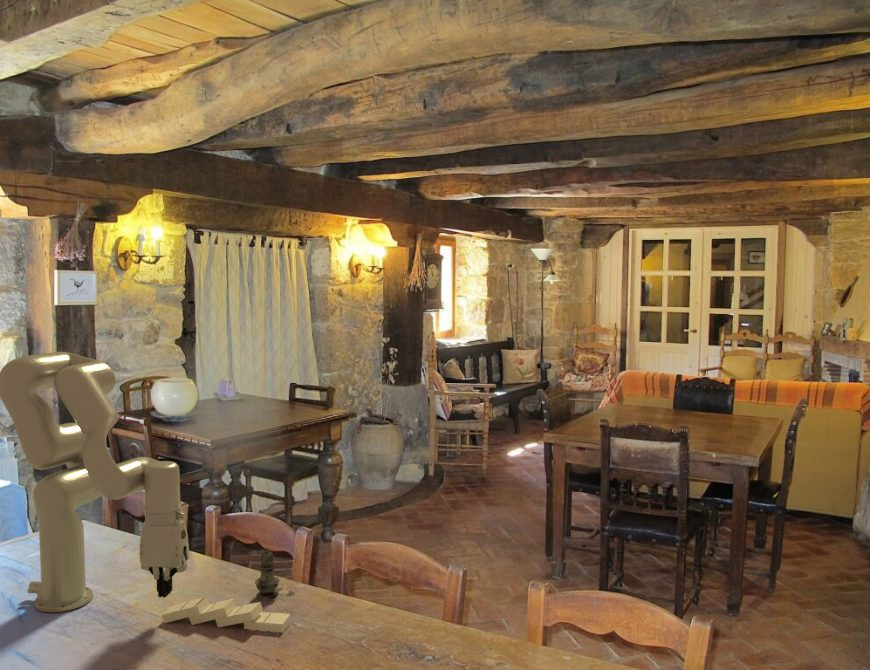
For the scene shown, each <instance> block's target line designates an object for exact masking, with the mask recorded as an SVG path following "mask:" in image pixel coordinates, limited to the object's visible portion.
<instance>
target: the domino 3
mask: <svg viewBox="0 0 870 670" xmlns="http://www.w3.org/2000/svg"><path fill="white" fill-rule="evenodd" d="M261 612H264V609H263V606H262V602H261V601H258V602H253V603H249V604H244V605H239V606H238V605H237V606H236V608H235V609H234V610H233V611H232V612H231V613H230V614H229V615H228V616H226V617H222V618H218V619H214V620H215V623H216V625H217V628H218V627H219V628H222V627H227V626H228V627H229V626H233V625H238V624H242V623H243V624H244V622H248V621H253V620H254V619H255V618H256V617H257V616H258V615H259V614H260V613H261Z"/></svg>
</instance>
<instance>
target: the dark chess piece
mask: <svg viewBox="0 0 870 670" xmlns="http://www.w3.org/2000/svg"><path fill="white" fill-rule="evenodd" d="M260 554H261V556H260V565H259V568H260V577H258V578H257V579H256V580H255V581H254V584H255V586H256V588H257V590H258V592H257V594H256V599H259V600H261V601H262V600H263V601H269V600H273V599H275V598H277V597H278V596H279V592H278V591H277V588H278V586H279V583H280V578H278V577H276V576H275V574H274V568H275V564H274V554H273V552H272V551H269V548H268V547H267V548H265V550H264V551H263V552H261V553H260Z"/></svg>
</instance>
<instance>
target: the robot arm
mask: <svg viewBox="0 0 870 670" xmlns="http://www.w3.org/2000/svg"><path fill="white" fill-rule="evenodd" d="M116 381H117V379H116V376H115V373H114V371H113V369H112V368H111V367H110V366H109V365H108V364H106V363H105V362H102V361H100V360H97V359H95V358H91V357H86V356H83V355H79V354H77V353H71V352H68V351H54V352H46V353H38V354H30V355H24V356H20V357H17V358H14V359H12V360H10V361H8V362H7V363H6V364H5V365H4V366H3V367H2V368H1V370H0V399H1V401H2V404H3V405H4V408H5V409H6V410H7V412H8V414H9V416H10V417H11V420H12V422H13V424H14V425H13V426H14V429H15V431H16V434H17V437H18V440H19V443H20V445H21V449H22V450H23V454H24V456H25V458H26V460H27V462H28V464H29V466H31V468H33V469H35V470H40V471H41V470H42V471H43V470H48V469H52V468H55V467H59V466H62V465H65V466H66V469H65V468H64V469H62V470H60V471H56V472H53V473H51V474H48V475H46V476H44V477H43V478H42V479H40V480H39V481H38V482H37V483H36V484H35V486H34V489H33V491H32V500H33V504H34V509H35V511H36V517H37V522H38V523H37V524H38V534H39V535H38V536H39V537H38V538H39V554H40V555H39V560H40V561H39V562H40V581H37V580H36V581H35V580H34V581H33V580H32V581H30V583H29V585H28V588H27V594H36V596H37V597H36V598H35V599H34V608H35V609H36V610H37V611H40V612H43V613H62V612H67V611H72V610H74V609H78V608H81V607H83V606H85V605H87V604H88V603H89V602H90V601H91V600H92V599H93V598H94V591H93V589H92V588H90V587H88V586H86V556H85V555H86V554H85V553H86V552H85V530H84V523H83V520H82V518H81V517H80V516H79V514H78V512H77V508H79V507H81V506H83V505H85V504H89V503H90V502H94V501H95V500H97V499H98V498H100V497H101V496H102V495H103V496H104V497H106V498H108V499H111V500H121V499H124V498H127V497H129V496H131V495H133V494H136V493H139V492H142V491H144V515H145V516H144V518H145V519H144V522H143V523H142V526H141V531H140V538H139V563H140V569H141V570H144V571H146V572H147V571H148V572H150V574H151V575H152V576H153V578H154V580H155V581H156V592H157V597H158V598H163V599H164V598H167V597H168V596H169V595H170V594H171V592H172V591H173V576H175V574H179V573H183V572H186V570H188V568H189V567H188V563H187V561H189V559H190V547H189V545H190V544H189V536H188V531H187V526H186V523H185V520H184V519H186V517H187V513H186V512H183V511H182V508H181V477H180V475H181V473H180V466H179V464H177V462H174V461H170V460H169V461H168V460H161V461H160V460H156V459H154V458H152V457H148V456H137V457H134V458H131V459H128V460H125V461H122V462H120V463H116V462H115V460H114V459H113V457H112V455H111V454H110V452H109V449H108V445H107V438H108V437H107V436H108V435H109V434H108V433H109V431H110V430H111V429H112V428H113V427H114V426H115V425H116V424H117V422H118V421H119V417H120V416H119V414H118V412H117V409H115V407H114V406H113V404H112V403H111V401H110V399H109V398H108V396H107V395H109V394H110V393H111V392H112V391H113V390H114V389H115V386H116ZM53 388H54V389H55V392H56V393H57V394H58V397H59V398H60V400H61V401H62V403H63V404H64V406H65V407H66V409H67V410H68V412H69V414H70V415H71V417H72V419H73V420H74V422H67V423H62V424H61V423H60V424H58V422H57V420H56V418H55V415H54V412H53V410H52V408H51V406H50V405H49V403H48V402H47V401H46V400H45V399H44V398H43V397H41V396H40V395H38V391H41V390H48V389H53Z"/></svg>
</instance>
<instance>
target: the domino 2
mask: <svg viewBox="0 0 870 670" xmlns="http://www.w3.org/2000/svg"><path fill="white" fill-rule="evenodd" d="M236 603H237V602H236V600H235V598H234V597H233V598H229V599H225V600H220V601H218V602H214V603H209V604H210V605H209V606H208V607H207V608H206V609H205V610H204V611H203V612H202V613H201V614H199V615H195V616H191V617H188V618H189V621H190V624H191V626H193V625H198V624H202V623H206V622H210V621H214V620H215V619H218V618H222V617H226V616H228V615H229V614H230V613H231V612H232V611H233V610H234V609H235V608H236V607H237V604H236Z"/></svg>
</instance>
